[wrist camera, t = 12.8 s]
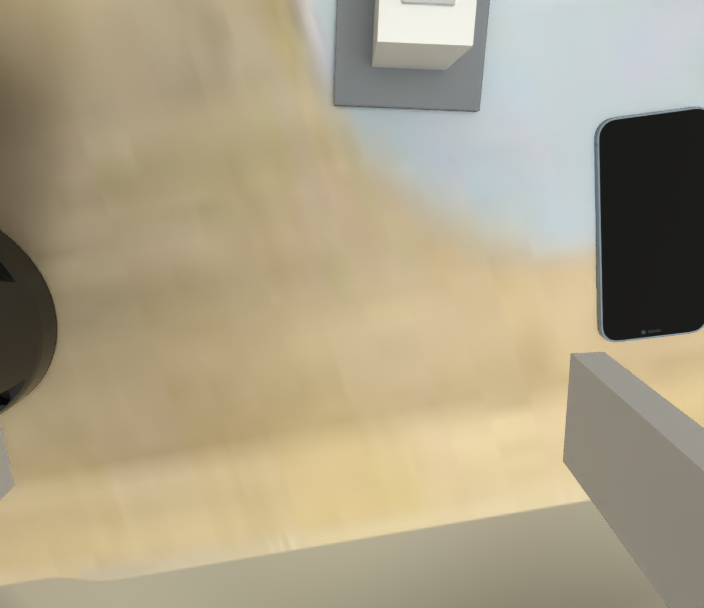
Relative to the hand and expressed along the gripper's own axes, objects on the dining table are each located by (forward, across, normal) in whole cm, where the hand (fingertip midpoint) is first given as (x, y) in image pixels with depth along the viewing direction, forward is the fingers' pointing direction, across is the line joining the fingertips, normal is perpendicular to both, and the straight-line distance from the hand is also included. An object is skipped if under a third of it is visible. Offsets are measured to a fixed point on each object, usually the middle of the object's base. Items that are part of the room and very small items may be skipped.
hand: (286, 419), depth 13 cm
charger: (+25, +6, +13) cm, 29 cm away
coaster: (+26, +6, +13) cm, 29 cm away
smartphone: (+26, +22, 0) cm, 34 cm away
